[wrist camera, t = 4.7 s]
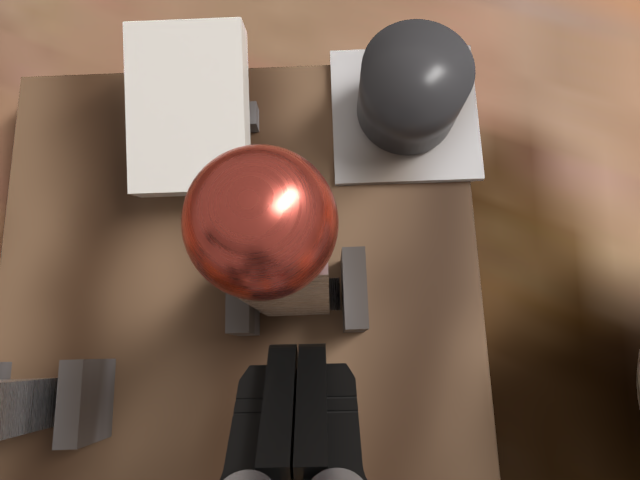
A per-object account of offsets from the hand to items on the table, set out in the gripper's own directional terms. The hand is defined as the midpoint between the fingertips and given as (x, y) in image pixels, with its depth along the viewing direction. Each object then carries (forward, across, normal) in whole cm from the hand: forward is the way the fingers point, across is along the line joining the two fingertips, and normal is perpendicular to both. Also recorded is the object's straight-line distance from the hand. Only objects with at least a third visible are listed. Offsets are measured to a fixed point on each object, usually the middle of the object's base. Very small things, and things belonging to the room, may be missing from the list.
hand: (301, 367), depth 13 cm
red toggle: (+5, 0, -2) cm, 5 cm away
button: (+11, +4, +3) cm, 12 cm away
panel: (+8, -3, -3) cm, 9 cm away
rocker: (+10, -4, +4) cm, 12 cm away
